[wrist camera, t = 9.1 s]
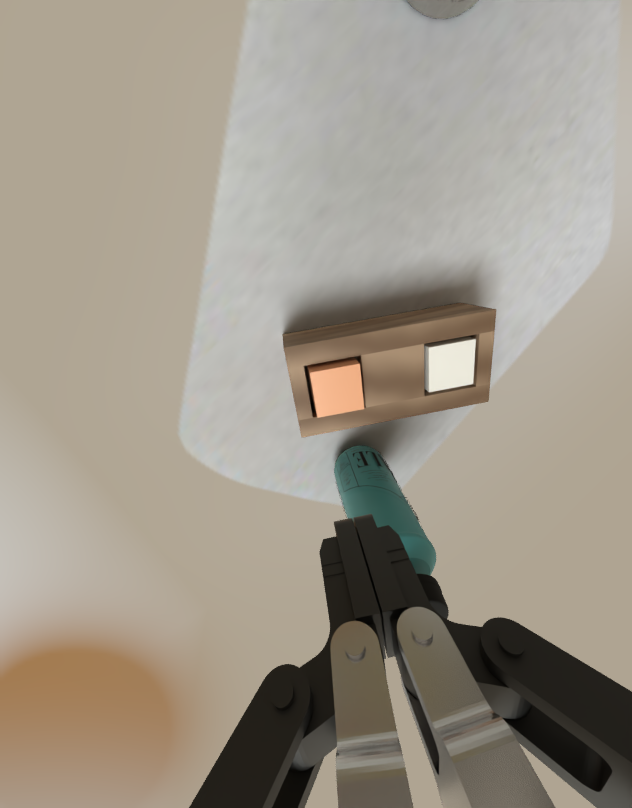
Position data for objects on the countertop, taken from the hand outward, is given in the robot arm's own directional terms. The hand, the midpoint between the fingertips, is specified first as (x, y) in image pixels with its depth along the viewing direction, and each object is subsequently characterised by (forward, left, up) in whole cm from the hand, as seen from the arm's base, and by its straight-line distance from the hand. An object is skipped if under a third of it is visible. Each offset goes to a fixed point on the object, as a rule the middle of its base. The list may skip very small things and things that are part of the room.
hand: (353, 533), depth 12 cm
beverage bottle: (+13, +4, -24) cm, 28 cm away
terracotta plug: (+1, +2, -22) cm, 22 cm away
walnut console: (+1, +8, -24) cm, 25 cm away
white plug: (+1, +13, -23) cm, 26 cm away
